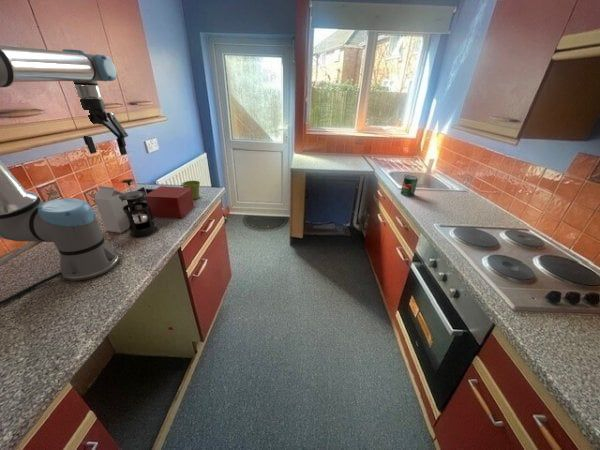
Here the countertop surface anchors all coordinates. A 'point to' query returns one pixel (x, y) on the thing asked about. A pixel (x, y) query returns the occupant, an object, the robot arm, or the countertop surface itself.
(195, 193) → the plant pot
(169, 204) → the red drawer cabinet
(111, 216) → the milk carton
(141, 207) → the black drawer
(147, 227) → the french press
